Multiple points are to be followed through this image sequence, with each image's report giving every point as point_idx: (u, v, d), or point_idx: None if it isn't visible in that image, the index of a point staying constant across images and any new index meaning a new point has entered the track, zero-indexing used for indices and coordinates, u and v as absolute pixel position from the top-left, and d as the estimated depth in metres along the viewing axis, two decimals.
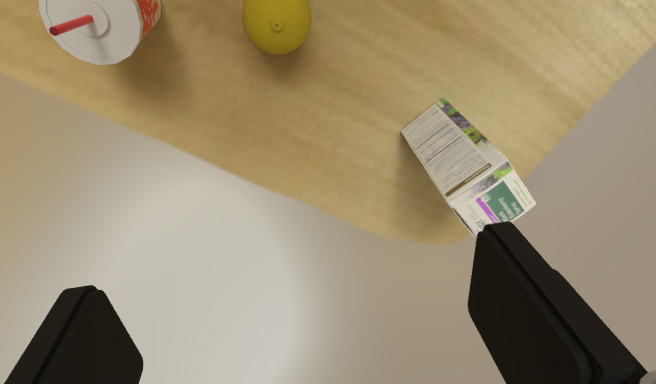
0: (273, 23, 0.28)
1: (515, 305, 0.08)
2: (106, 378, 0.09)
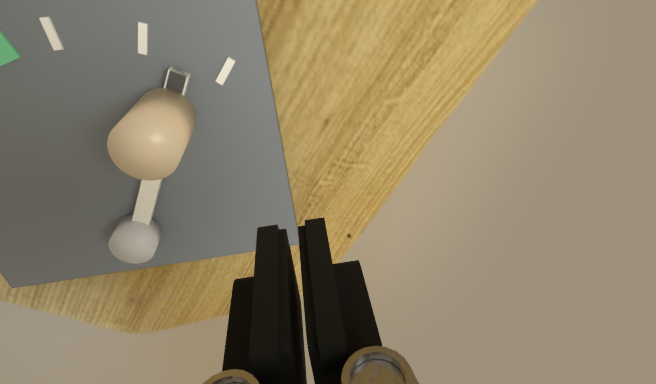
0: None
1: None
2: (296, 304, 0.10)
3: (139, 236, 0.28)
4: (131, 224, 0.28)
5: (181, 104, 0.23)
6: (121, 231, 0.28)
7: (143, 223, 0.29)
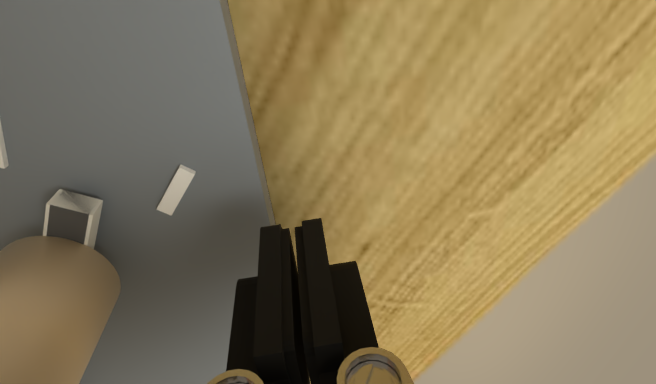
0: None
1: None
2: (299, 304, 0.10)
3: None
4: None
5: (73, 281, 0.11)
6: None
7: None
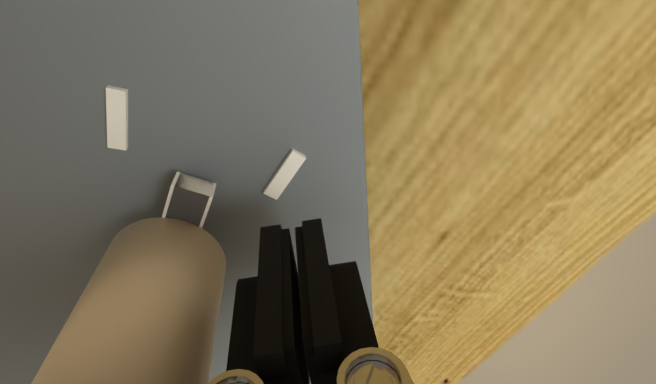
0: None
1: None
2: (299, 304, 0.10)
3: None
4: None
5: (199, 261, 0.11)
6: None
7: None
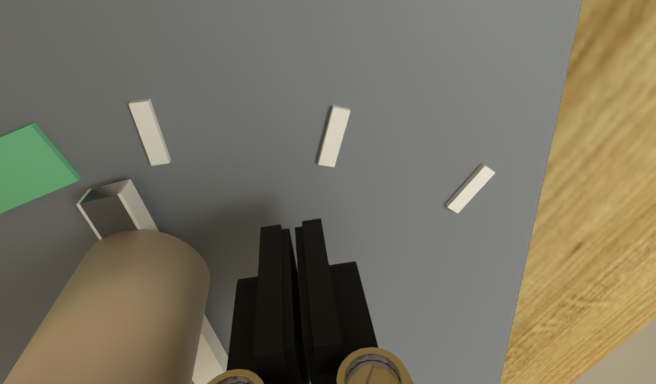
0: None
1: None
2: (299, 304, 0.10)
3: None
4: None
5: (133, 262, 0.10)
6: None
7: None
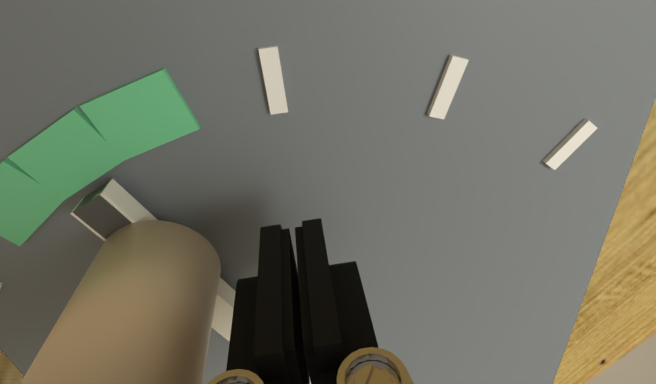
0: None
1: None
2: (299, 304, 0.10)
3: None
4: None
5: (126, 251, 0.10)
6: None
7: None
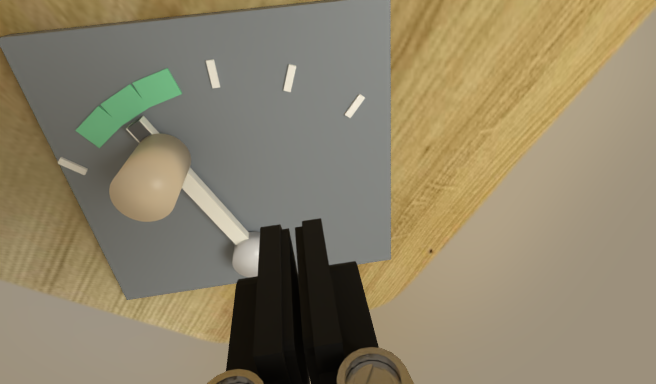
0: None
1: None
2: (299, 304, 0.10)
3: (247, 251, 0.30)
4: (236, 248, 0.31)
5: (150, 141, 0.25)
6: (234, 258, 0.31)
7: (244, 240, 0.31)
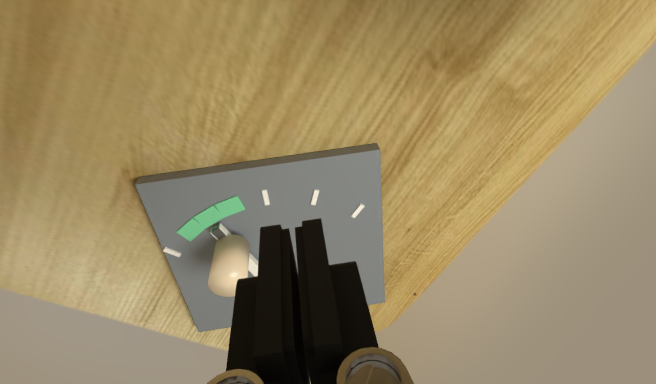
0: None
1: None
2: (299, 304, 0.10)
3: None
4: None
5: (227, 243, 0.39)
6: None
7: None
